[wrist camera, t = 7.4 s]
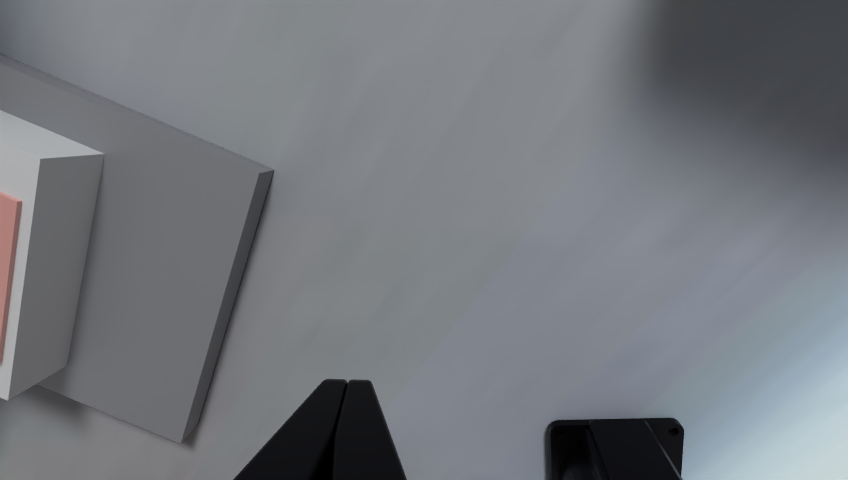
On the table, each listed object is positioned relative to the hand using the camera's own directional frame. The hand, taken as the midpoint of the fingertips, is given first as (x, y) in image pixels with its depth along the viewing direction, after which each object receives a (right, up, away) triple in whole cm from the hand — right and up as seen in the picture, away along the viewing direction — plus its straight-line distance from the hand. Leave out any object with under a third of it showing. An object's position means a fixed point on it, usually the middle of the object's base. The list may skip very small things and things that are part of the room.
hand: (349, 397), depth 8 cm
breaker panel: (-17, +3, +15) cm, 23 cm away
